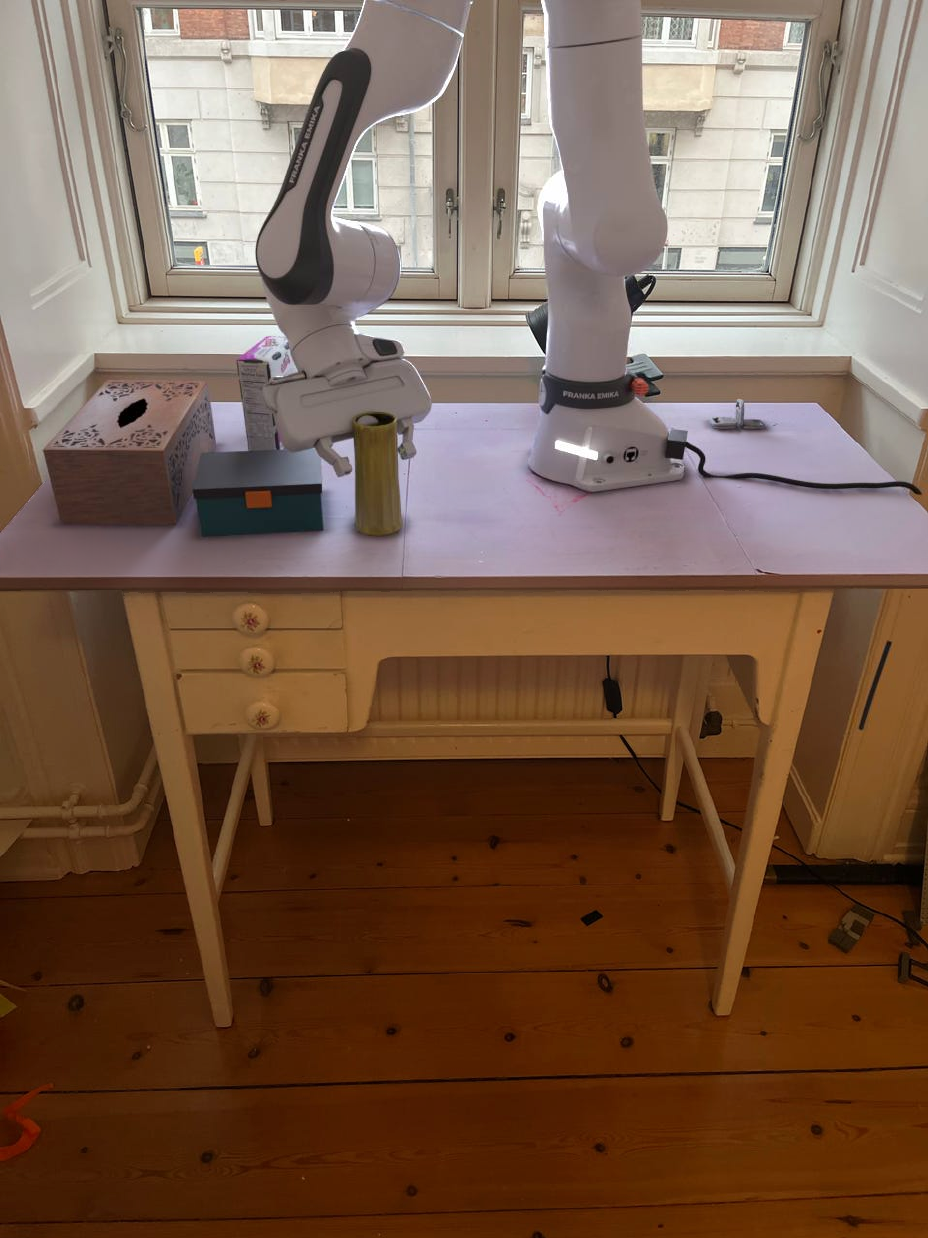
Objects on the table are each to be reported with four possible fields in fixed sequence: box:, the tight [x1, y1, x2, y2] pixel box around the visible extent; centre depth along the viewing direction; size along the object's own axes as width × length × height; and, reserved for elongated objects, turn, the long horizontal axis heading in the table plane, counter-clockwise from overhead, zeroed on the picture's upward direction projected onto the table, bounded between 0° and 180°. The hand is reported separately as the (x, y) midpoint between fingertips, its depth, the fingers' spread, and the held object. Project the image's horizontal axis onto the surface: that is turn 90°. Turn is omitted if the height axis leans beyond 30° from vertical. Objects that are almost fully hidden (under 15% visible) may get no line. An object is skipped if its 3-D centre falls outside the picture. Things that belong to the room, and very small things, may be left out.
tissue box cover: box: [42, 379, 217, 525], centre depth 125 cm, size 26×14×10 cm, turn 1°
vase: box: [353, 411, 404, 537], centre depth 114 cm, size 6×6×14 cm
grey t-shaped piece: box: [709, 398, 766, 430], centre depth 149 cm, size 8×3×4 cm, turn 94°
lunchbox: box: [192, 448, 324, 537], centre depth 119 cm, size 15×12×6 cm
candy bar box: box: [235, 335, 298, 451], centre depth 131 cm, size 11×5×16 cm, turn 168°
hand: (378, 465), depth 113 cm, fingers open, 8 cm apart
